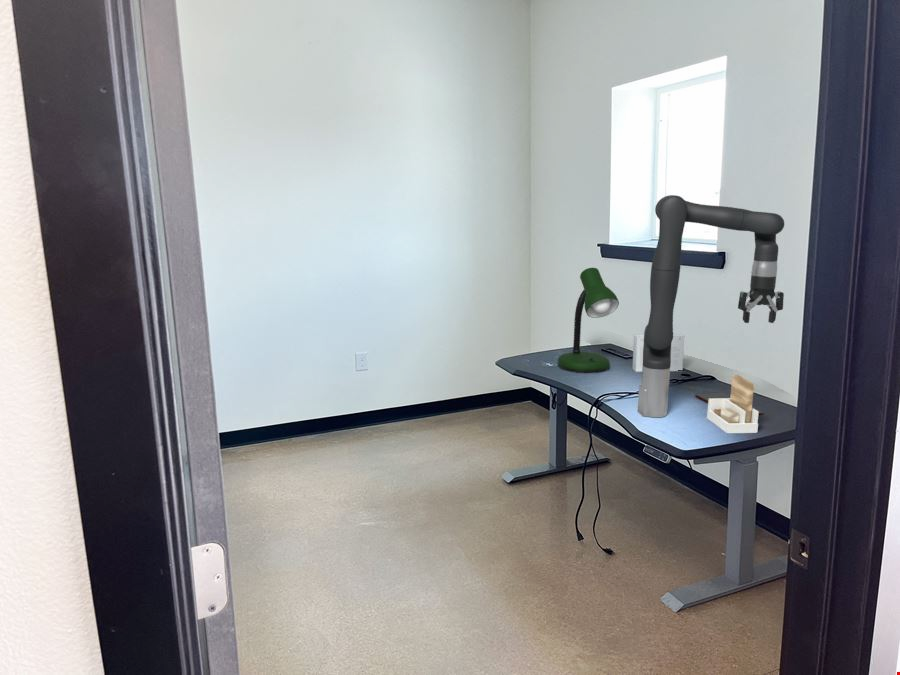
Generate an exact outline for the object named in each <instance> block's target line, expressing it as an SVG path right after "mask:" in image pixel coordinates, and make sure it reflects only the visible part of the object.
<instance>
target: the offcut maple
mask: <svg viewBox="0 0 900 675" xmlns="http://www.w3.org/2000/svg"><path fill="white" fill-rule="evenodd" d="M721 418H723V419H724V420H726V421H727V422H738V420H739V413H738V412H736V411H735V410H733V409H731V408H725V409H721Z"/></svg>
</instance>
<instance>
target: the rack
mask: <svg viewBox="0 0 900 675" xmlns="http://www.w3.org/2000/svg"><path fill="white" fill-rule="evenodd" d="M725 408H731V409H733V410H735V411H736V412H738V413H739V420H738V423H728V422H726V421H725V420H724V419H722V418H721V417H719V416H718V415H717V414H715V413H714V409H725ZM754 408H755V407H753V408H752V411H751V420H750V423H745V415H746V411H745V410H743V409H741V408H740V407H738V406H737V405H735V404H734V403H732V402H731V401H730V398H713V399H709V400H708V403H707V412H706V419H708V420H709V421H711V423H713V424H714V425H715V426H717V427H718V428H720V429H721V430H722V431H723V432H725V433H726V434H754V433H755V434H756V433H758V429H759V423H758V422H759V421H758V420H759V415H758V413H759V412H758V411H757V410H758V409H757V410H755V409H756V408H755V409H754Z"/></svg>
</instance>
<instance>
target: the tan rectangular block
mask: <svg viewBox="0 0 900 675" xmlns="http://www.w3.org/2000/svg"><path fill="white" fill-rule="evenodd" d="M730 387H731V388H730V401H731V402H732V403H734V404H735V405H737V406H738V407H740V408H741V409H743V410H745V411H746V415H745V423H750V420H751V411H752V407H753V398H754V391H755V390H754V389H755V383H754V382H752V381H751V380H748V379H747V378H744V377H743V376H742V375H739V374H732V379H731V386H730Z"/></svg>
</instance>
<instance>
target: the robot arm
mask: <svg viewBox="0 0 900 675" xmlns="http://www.w3.org/2000/svg"><path fill="white" fill-rule="evenodd" d="M654 208H655V209H654V210H655V215H656V217H657V219H659V227H658V228H659V230H658V231H659V233H658V239H657V240H658V241H657V244H656V248H655V250H654V254H653V258H652V262H651V268H650V279H649V296H650V310H649V318H648V323H647V324H646V325H645V328H644V333H643V335H644V346H643V367H642V372H641V383H640V385H638V398H637V399H638V400H637V412H638V413H639V414H640V415H642V417H648V418H649V417H650V418H664V417H666V416H667V414H668V403H669V402H668V401H669V388H670V376H671V371H670V365H671V342H672V340H673V334H674V323H673V322H674V308H675V303H676V299H677V294H678V289H679V282H680V273H681V262H682V240H683V235H684V234H683V233H684V228H685V226H686V225H685V224H686V223H693V224H694V223H695V224H702V225H706V226H710V227H711V226H712V227H715V228H719V229H727V230H733V231H741V232H751V233H753V234H754V235H753V236H754V243H755V247H754V254H753V262H752V266H751V271H750V273H751V274H750V284H749V288H750V289H749V291H747V292H746V291H740V293H739V297H738V298H739V299H738V303H737V304H738V305H737V309H738V310H741V311H742V321H743V323H745V324H749V323H750V317H751V315H750V314H751V310H752V309H753V308H755V307H756V306H762V305H763V306H767V307H768V309H769V312H768V323H770V324H775V321H776V317H777V312H778V311H782V310H784V300H785V299H784V296H785V295H784V294H785V293H784V292H782V291H775V289H776V284H777V274H778V273H777V272H778V256H779V245H778V243H777V234H780V233H781V232H782V231H783V229H785V220H784V218H783V217H782V216H781V215H780V214H778V213H775V212H766V211H765V212H764V211H753V210H749V209H746V208H738V207H731V206H721V205H712V204H711V205H709V204H703V203H702V204H701V203H695V202H691V201H687V200H686V199H684V198H683V197H682V196H680V195H676V194H675V195H673V194H671V195H666V196H663V197H662V198H660V199H659V200H658V201H657V203H656V205H655V207H654ZM748 298H749V300H748V301H747V299H748ZM774 298H775V302H774V300H773V299H774Z"/></svg>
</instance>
